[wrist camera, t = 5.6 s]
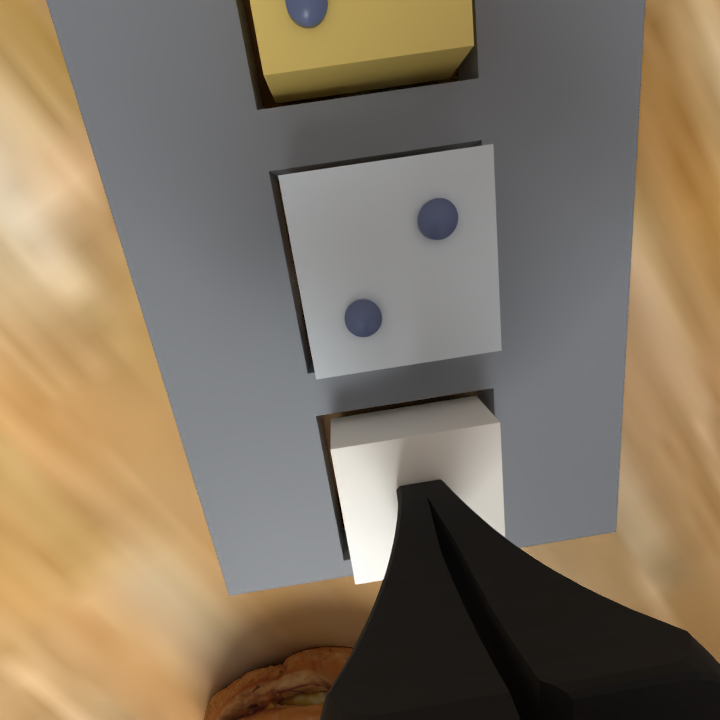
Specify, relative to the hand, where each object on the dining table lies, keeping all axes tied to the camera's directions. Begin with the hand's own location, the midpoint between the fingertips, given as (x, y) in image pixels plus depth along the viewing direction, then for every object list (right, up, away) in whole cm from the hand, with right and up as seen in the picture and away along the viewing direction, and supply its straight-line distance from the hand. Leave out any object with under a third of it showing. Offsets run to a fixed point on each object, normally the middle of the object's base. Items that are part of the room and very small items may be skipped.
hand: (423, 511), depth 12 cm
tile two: (-1, +7, 0) cm, 7 cm away
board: (-1, +8, +1) cm, 8 cm away
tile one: (0, +1, +2) cm, 2 cm away
